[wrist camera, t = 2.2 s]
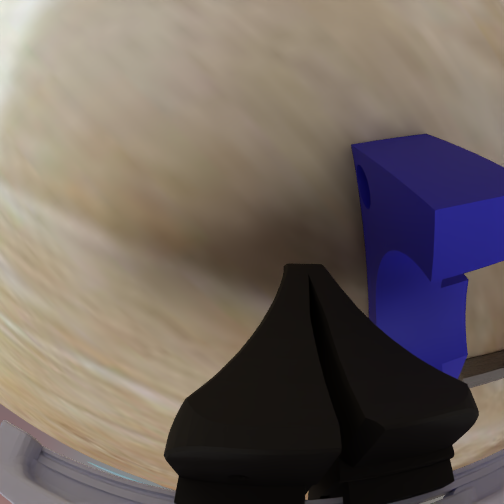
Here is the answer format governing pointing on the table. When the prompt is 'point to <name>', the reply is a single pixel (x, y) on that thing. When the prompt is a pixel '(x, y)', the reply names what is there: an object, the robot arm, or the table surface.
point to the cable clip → (427, 239)
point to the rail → (483, 369)
